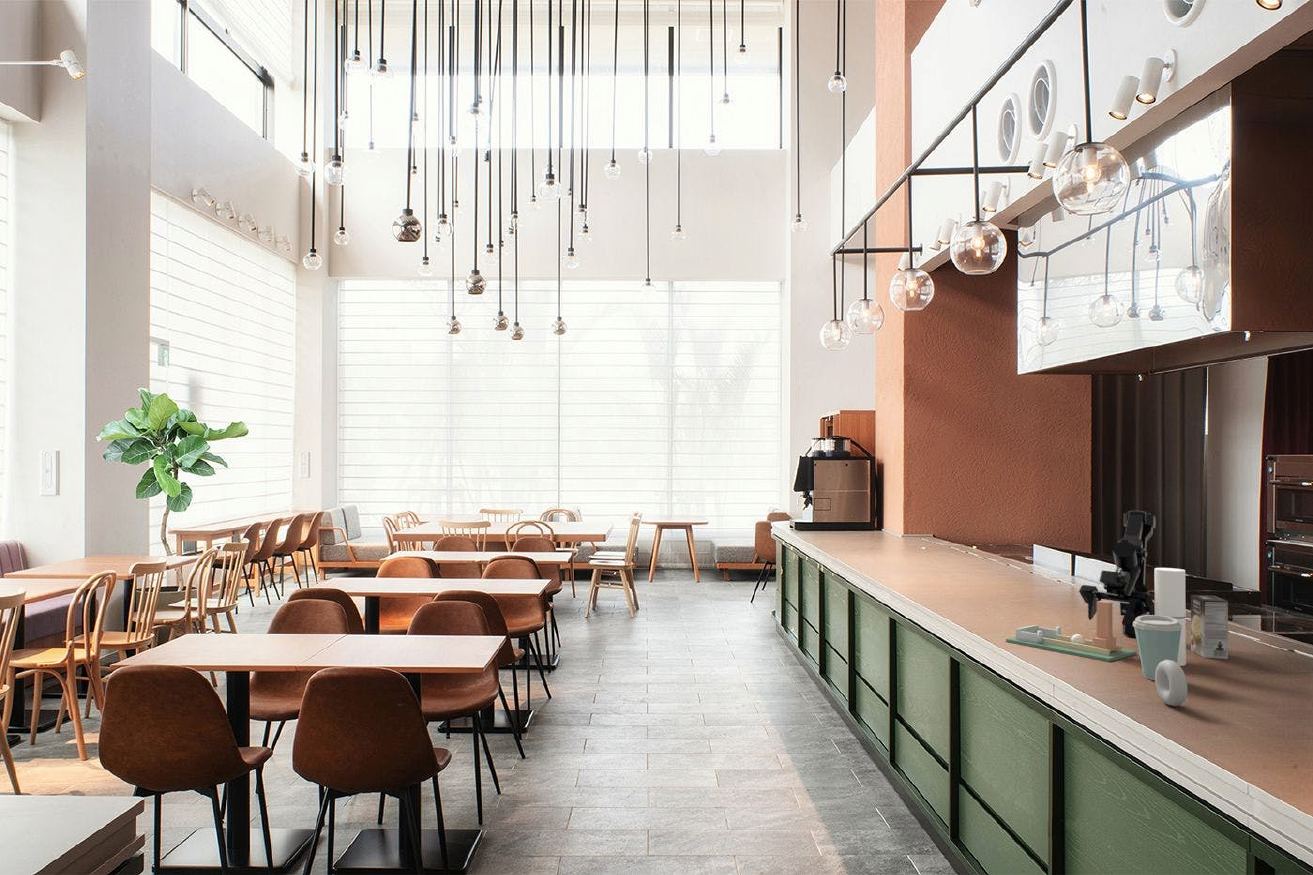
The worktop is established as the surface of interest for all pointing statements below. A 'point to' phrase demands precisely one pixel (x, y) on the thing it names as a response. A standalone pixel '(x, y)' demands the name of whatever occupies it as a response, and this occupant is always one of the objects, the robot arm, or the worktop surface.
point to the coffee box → (1209, 626)
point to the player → (1104, 627)
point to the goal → (1036, 633)
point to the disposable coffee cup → (1156, 641)
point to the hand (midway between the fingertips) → (1105, 621)
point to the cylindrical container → (1172, 601)
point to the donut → (1171, 683)
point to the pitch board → (1077, 648)
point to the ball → (1078, 639)
